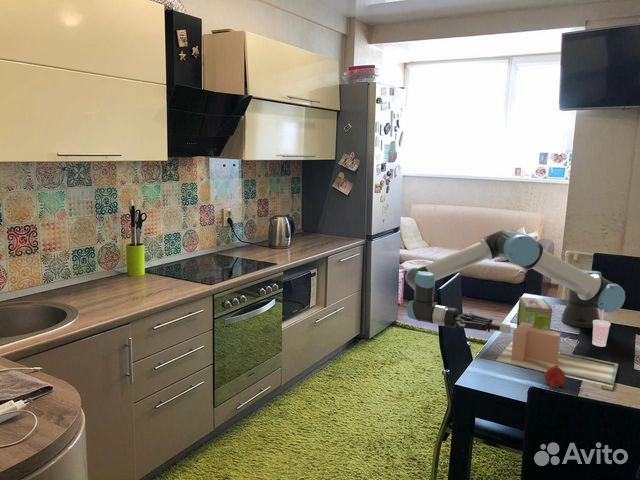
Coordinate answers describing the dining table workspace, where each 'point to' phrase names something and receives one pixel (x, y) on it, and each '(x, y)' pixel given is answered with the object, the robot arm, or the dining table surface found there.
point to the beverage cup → (600, 332)
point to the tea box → (534, 313)
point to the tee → (535, 344)
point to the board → (570, 367)
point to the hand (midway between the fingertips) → (509, 329)
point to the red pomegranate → (555, 377)
